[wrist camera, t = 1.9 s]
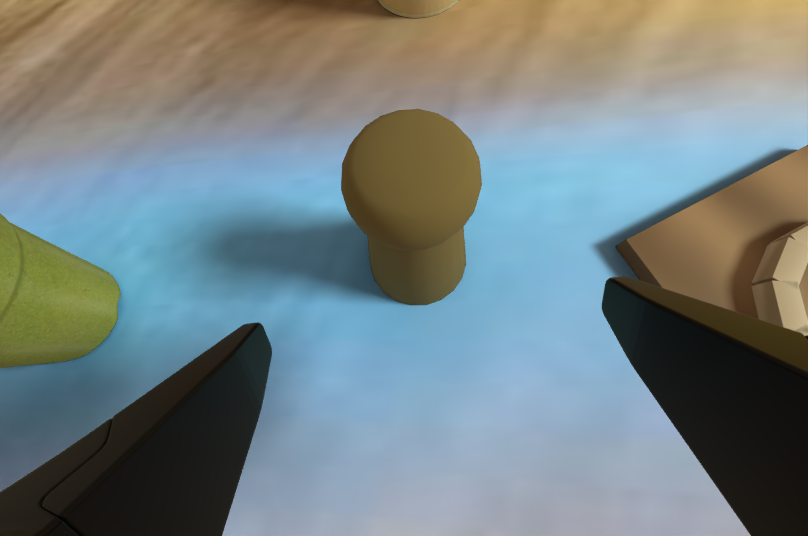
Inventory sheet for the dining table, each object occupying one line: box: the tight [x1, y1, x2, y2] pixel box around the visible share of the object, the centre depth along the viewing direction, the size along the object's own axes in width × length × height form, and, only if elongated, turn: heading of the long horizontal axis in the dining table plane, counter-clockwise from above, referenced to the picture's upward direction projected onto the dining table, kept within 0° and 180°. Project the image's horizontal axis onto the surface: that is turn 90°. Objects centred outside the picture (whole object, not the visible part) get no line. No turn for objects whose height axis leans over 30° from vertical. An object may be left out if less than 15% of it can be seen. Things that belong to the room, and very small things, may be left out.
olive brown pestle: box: [341, 109, 482, 305], centre depth 17 cm, size 6×6×11 cm
